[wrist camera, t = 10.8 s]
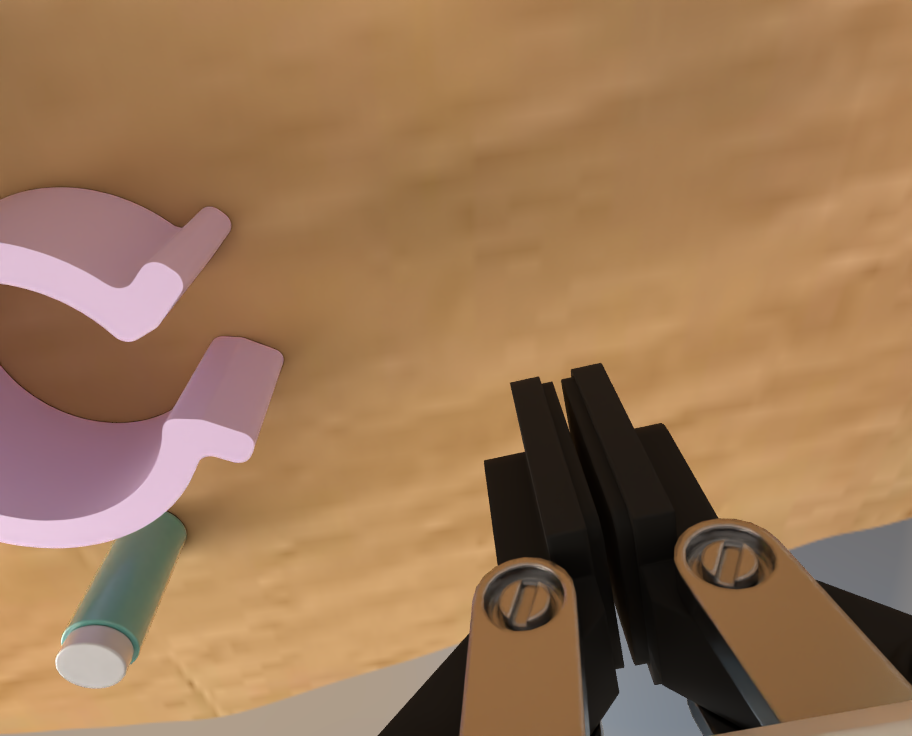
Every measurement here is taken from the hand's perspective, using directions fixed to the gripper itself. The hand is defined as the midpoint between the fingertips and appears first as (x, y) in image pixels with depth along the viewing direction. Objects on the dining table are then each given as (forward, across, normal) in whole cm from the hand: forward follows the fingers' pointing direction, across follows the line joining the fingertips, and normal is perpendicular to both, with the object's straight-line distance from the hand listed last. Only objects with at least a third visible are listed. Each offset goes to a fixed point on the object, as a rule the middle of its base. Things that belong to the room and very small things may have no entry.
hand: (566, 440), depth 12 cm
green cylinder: (+17, +20, +13) cm, 30 cm away
